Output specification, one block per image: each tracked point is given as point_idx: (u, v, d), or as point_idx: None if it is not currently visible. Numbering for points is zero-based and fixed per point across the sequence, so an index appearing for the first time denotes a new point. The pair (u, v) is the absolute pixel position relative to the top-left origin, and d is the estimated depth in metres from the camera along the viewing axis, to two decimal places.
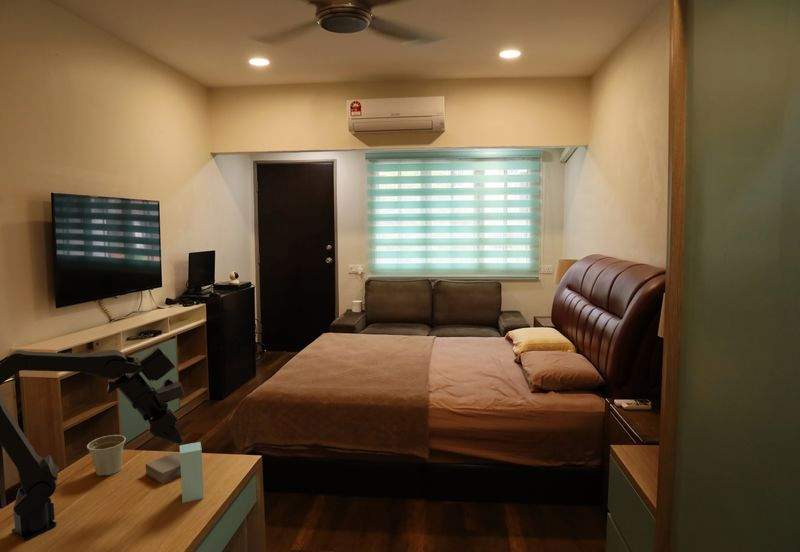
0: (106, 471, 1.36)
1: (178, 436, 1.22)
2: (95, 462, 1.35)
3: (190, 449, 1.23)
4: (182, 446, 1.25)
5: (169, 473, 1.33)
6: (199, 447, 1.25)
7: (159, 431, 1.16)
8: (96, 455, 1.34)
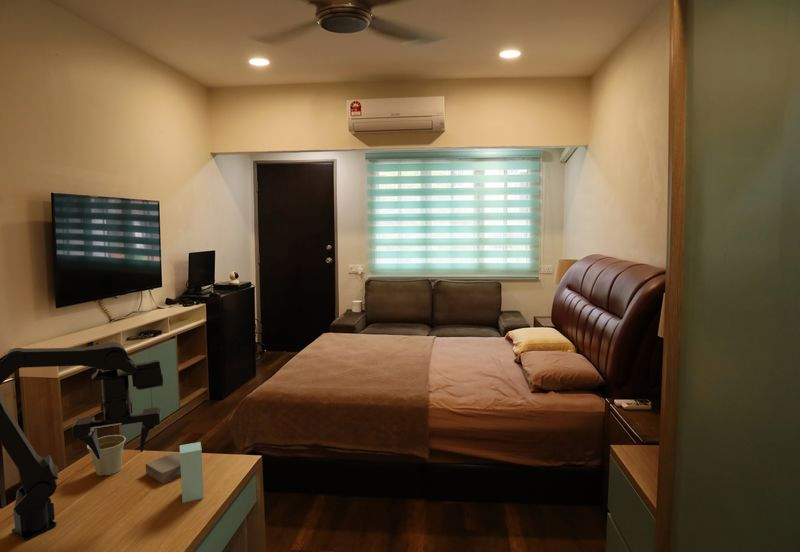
0: (106, 471, 1.36)
1: None
2: (95, 462, 1.35)
3: (190, 449, 1.23)
4: (182, 446, 1.25)
5: (169, 473, 1.33)
6: (199, 447, 1.25)
7: None
8: None
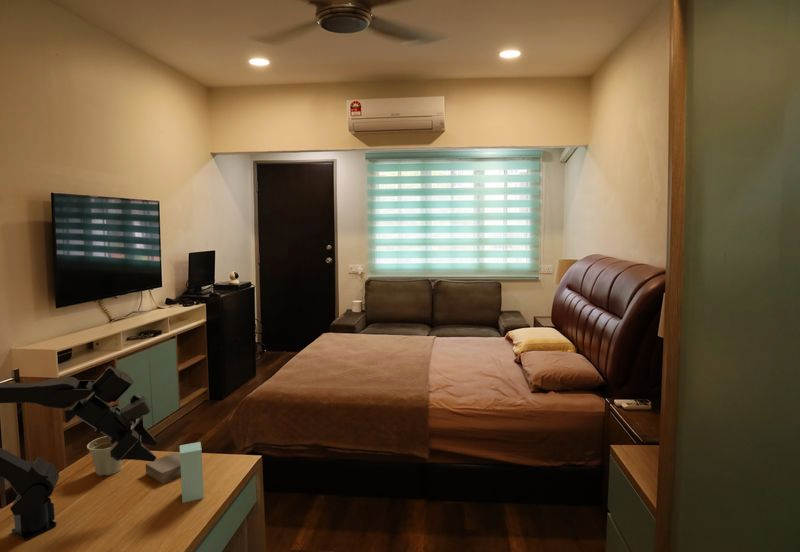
0: (106, 471, 1.36)
1: (150, 454, 1.16)
2: (95, 462, 1.35)
3: (190, 449, 1.23)
4: (182, 446, 1.25)
5: (169, 473, 1.33)
6: (199, 447, 1.25)
7: (121, 455, 1.10)
8: (96, 455, 1.34)
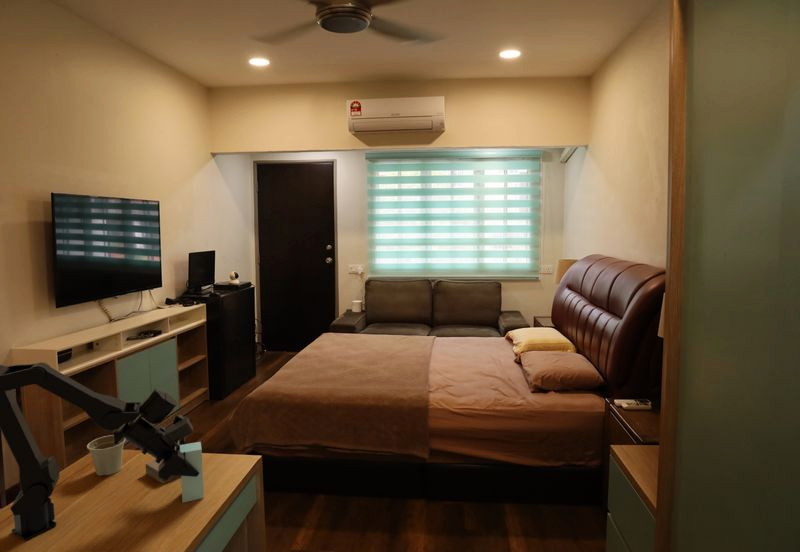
0: (106, 471, 1.36)
1: (193, 469, 1.22)
2: (95, 462, 1.35)
3: (190, 449, 1.23)
4: (182, 445, 1.25)
5: None
6: (199, 447, 1.25)
7: (168, 476, 1.14)
8: (96, 455, 1.34)
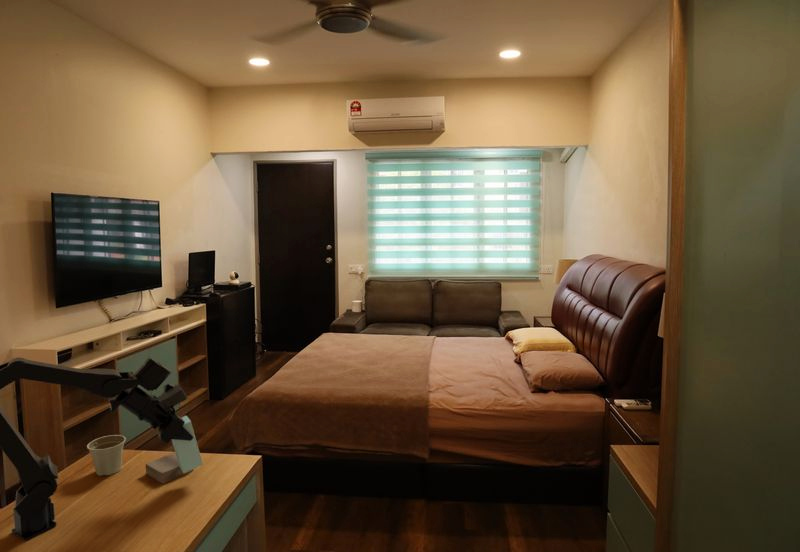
0: (106, 471, 1.36)
1: (188, 433, 1.28)
2: (95, 462, 1.35)
3: None
4: None
5: (169, 473, 1.33)
6: (188, 419, 1.29)
7: (170, 438, 1.19)
8: (96, 455, 1.34)
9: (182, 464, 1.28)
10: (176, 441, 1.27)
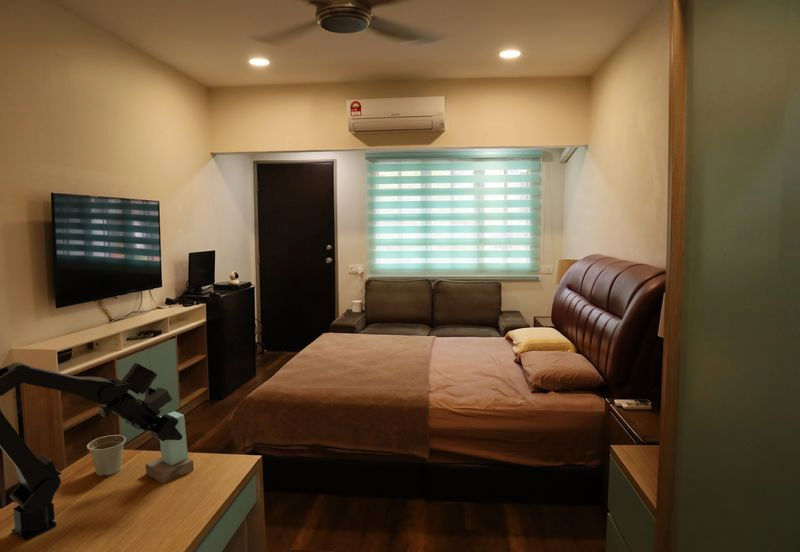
0: (106, 471, 1.36)
1: (179, 433, 1.34)
2: (95, 462, 1.35)
3: None
4: None
5: (169, 473, 1.33)
6: (179, 414, 1.38)
7: (167, 435, 1.27)
8: (96, 455, 1.34)
9: (171, 456, 1.35)
10: None
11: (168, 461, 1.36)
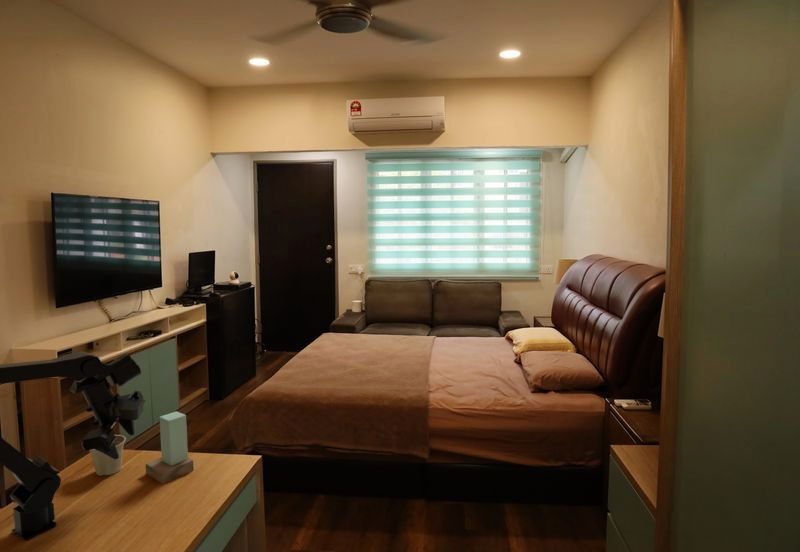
0: (106, 471, 1.36)
1: (115, 453, 1.22)
2: (95, 462, 1.35)
3: (175, 417, 1.37)
4: (163, 416, 1.37)
5: (169, 473, 1.33)
6: (181, 414, 1.39)
7: (88, 448, 1.16)
8: (96, 455, 1.34)
9: (171, 456, 1.35)
10: (171, 433, 1.35)
11: (168, 461, 1.36)
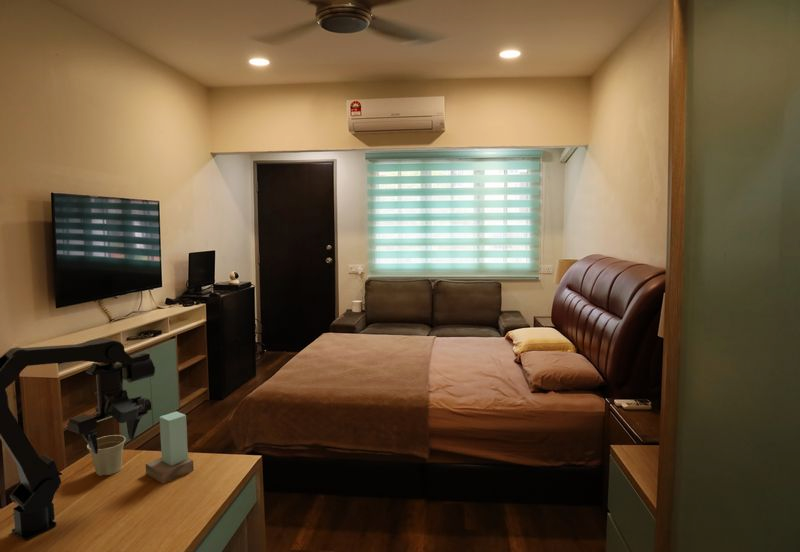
0: (106, 471, 1.36)
1: (94, 447, 1.20)
2: (95, 462, 1.35)
3: (175, 417, 1.37)
4: (163, 416, 1.37)
5: (169, 473, 1.33)
6: (181, 414, 1.39)
7: (69, 429, 1.17)
8: (96, 455, 1.34)
9: (171, 456, 1.35)
10: (171, 433, 1.35)
11: (168, 461, 1.36)
